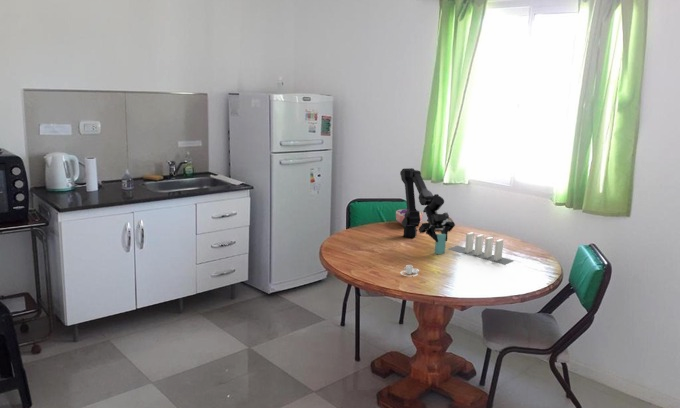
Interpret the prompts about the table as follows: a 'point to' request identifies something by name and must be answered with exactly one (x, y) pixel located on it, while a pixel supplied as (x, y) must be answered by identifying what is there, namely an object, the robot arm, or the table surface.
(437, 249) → the teal domino
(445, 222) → the tin
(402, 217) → the cell model
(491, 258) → the mat
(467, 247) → the domino
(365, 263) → the table surface
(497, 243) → the domino
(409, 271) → the teacup and saucer
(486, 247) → the domino
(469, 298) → the table surface
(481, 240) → the domino
